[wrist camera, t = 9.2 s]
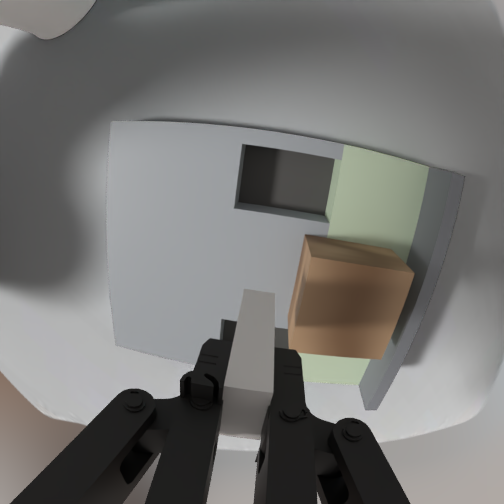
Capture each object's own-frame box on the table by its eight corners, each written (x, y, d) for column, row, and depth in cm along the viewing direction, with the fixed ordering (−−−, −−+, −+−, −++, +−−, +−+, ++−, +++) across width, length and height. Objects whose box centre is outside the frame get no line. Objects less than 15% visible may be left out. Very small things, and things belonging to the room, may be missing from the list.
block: (287, 316, 21) (288, 351, 17) (304, 234, 19) (311, 257, 15) (366, 325, 21) (381, 359, 17) (391, 249, 18) (414, 273, 15)
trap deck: (126, 330, 25) (100, 366, 20) (127, 122, 19) (86, 119, 14) (363, 367, 25) (376, 410, 20) (425, 167, 19) (464, 176, 14)
